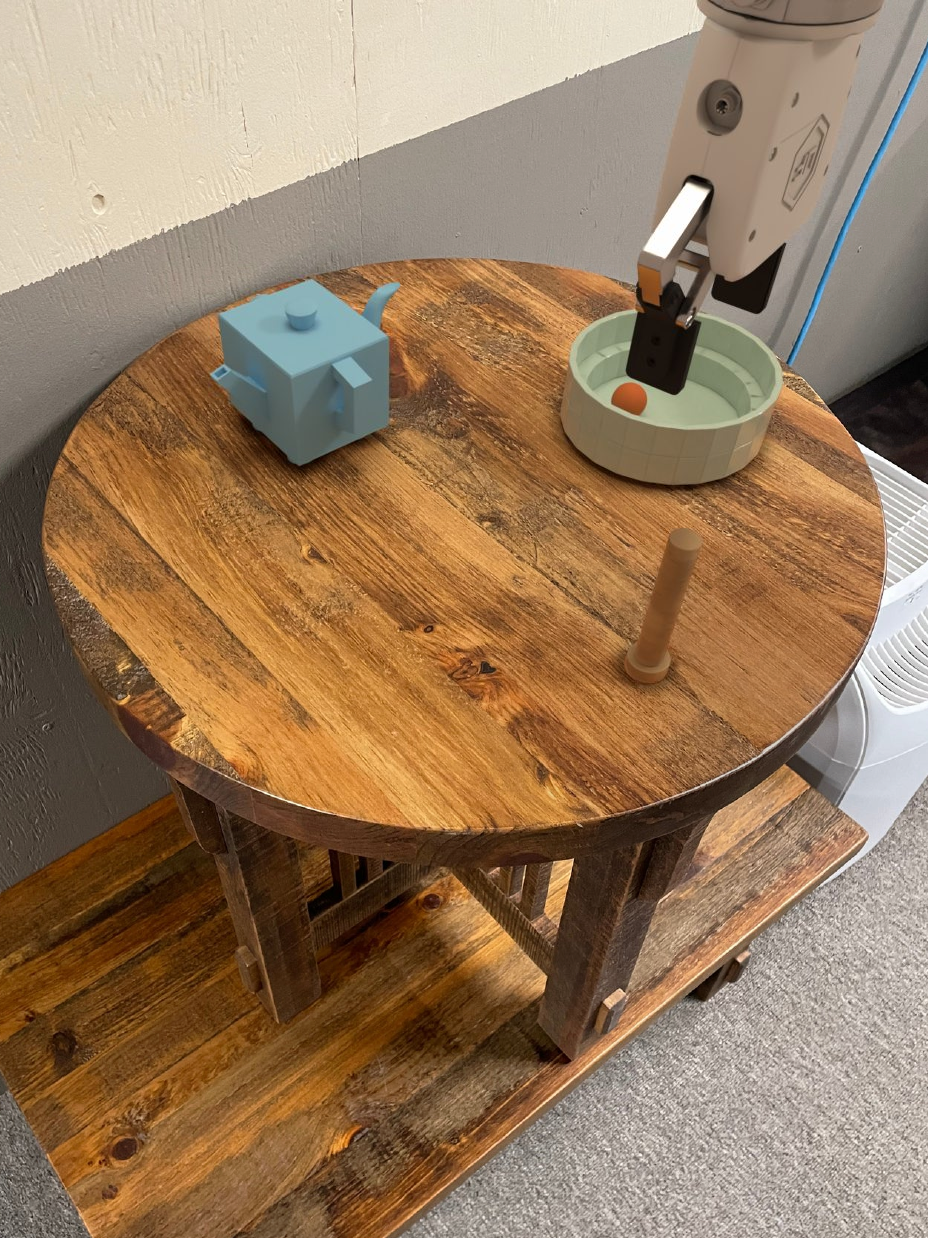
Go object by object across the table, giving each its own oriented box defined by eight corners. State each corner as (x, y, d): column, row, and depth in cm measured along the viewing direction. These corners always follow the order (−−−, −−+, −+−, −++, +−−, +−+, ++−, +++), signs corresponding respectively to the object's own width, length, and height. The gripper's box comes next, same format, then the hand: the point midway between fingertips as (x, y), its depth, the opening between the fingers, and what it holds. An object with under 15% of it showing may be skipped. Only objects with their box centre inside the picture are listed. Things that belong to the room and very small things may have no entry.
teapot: (180, 419, 87) (157, 297, 78) (349, 349, 93) (345, 229, 84) (279, 517, 79) (265, 394, 70) (456, 433, 86) (464, 311, 77)
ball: (644, 407, 87) (651, 377, 85) (642, 428, 85) (649, 397, 83) (609, 403, 87) (615, 373, 85) (607, 423, 85) (613, 393, 83)
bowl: (758, 380, 90) (778, 318, 86) (763, 503, 80) (787, 441, 75) (568, 358, 92) (578, 297, 88) (550, 475, 82) (560, 414, 77)
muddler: (667, 654, 70) (711, 525, 61) (666, 687, 68) (711, 558, 59) (624, 648, 71) (661, 518, 61) (622, 680, 69) (659, 551, 59)
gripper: (793, 52, 36) (683, 446, 49) (958, -67, 44) (825, 298, 58) (611, 6, 38) (554, 391, 52) (798, -98, 47) (707, 257, 60)
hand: (696, 342), depth 55 cm, fingers open, 9 cm apart
